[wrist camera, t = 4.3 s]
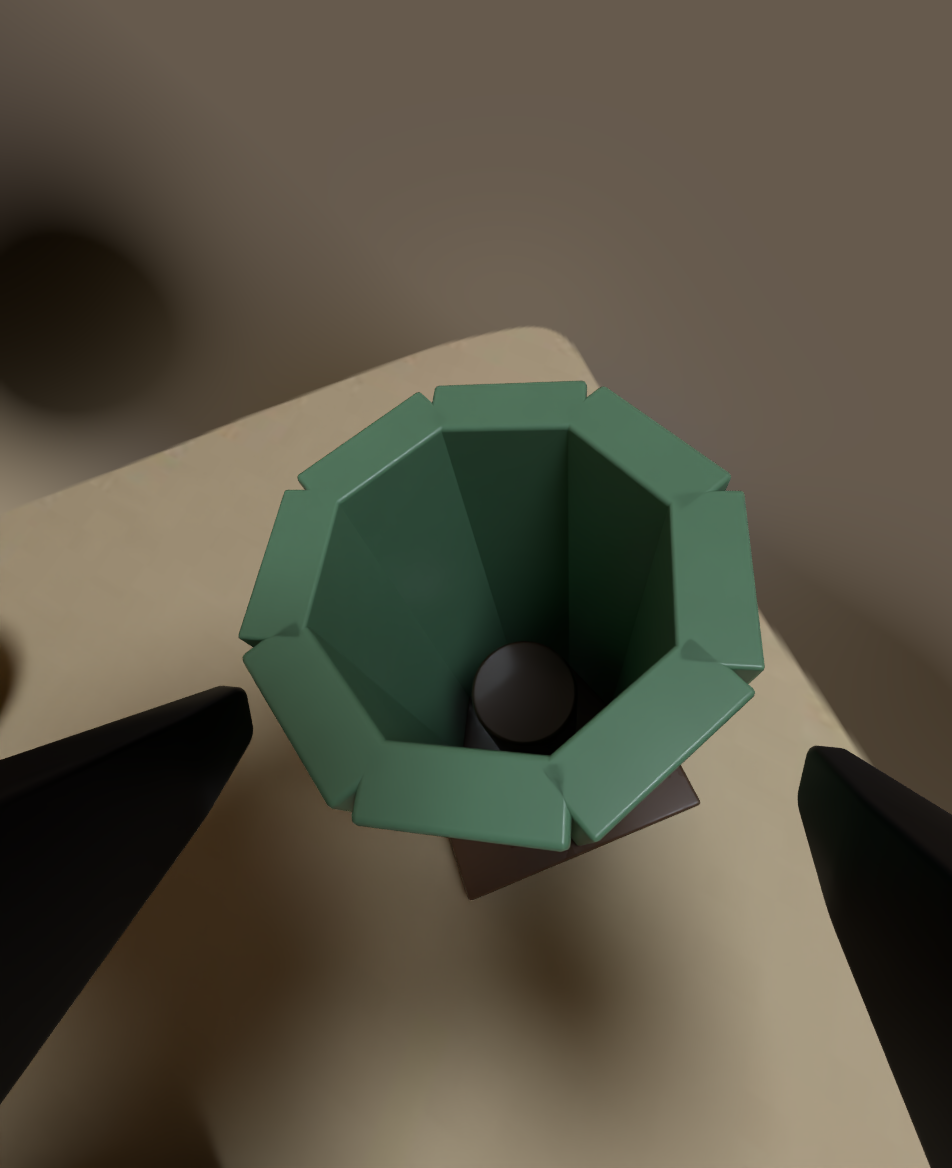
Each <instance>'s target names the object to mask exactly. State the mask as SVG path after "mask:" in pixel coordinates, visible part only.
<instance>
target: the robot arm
mask: <svg viewBox="0 0 952 1168" xmlns="http://www.w3.org/2000/svg"><path fill="white" fill-rule="evenodd" d="M252 735H253V725H252V719H251V714H250V709H249V703H248V698H247V694H246V692H245V691H244V690H243V689H242V688H239V687H230V686H218V687H215V688H212V689H209V690H206V691H203V692H200V693H197V694H194V695H191V696H188V697H185V698H182V699H179V700H176V701H173V702H170V703H168V704H165V705H162V706H159V707H156V708H153V709H150V710H147V711H144V712H141V713H138V714H135V715H132V716H129V717H126V718H123V719H120V720H117V721H114V722H111V723H108V724H105V725H103V726H100V727H97V728H94V729H91V730H88V731H85V732H82V733H79V734H76V735H73V736H70V737H67V738H64V739H61V740H58V741H55V742H52V743H49V744H46V745H43V746H40V747H38V748H35V749H32V750H29V751H26V752H23V753H20V754H17V755H14V756H11V757H8V758H5V759H2V760H0V1104H1V1103H2V1101H3V1100H4V1099H5V1097H6V1096H7V1094H8V1093H9V1092H10V1090H11V1089H12V1087H13V1086H14V1085H15V1083H16V1082H17V1080H18V1079H19V1078H20V1076H21V1075H22V1073H23V1072H24V1071H25V1069H26V1068H27V1067H28V1065H29V1064H30V1062H31V1061H32V1060H33V1058H34V1057H35V1055H36V1054H37V1053H38V1051H39V1050H40V1048H41V1047H42V1046H43V1044H44V1043H45V1041H46V1040H47V1039H48V1037H49V1036H50V1034H51V1033H52V1032H53V1030H54V1029H55V1027H56V1026H57V1025H58V1023H59V1022H60V1021H61V1019H62V1018H63V1016H64V1015H65V1014H66V1012H67V1011H68V1009H69V1008H70V1007H71V1005H72V1004H73V1002H74V1001H75V1000H76V998H77V997H78V995H79V994H80V993H81V991H82V990H83V988H84V987H85V986H86V984H87V983H88V982H89V980H90V979H91V977H92V976H93V975H94V973H95V972H96V970H97V969H98V968H99V966H100V965H101V963H102V962H103V961H104V959H105V958H106V956H107V955H108V954H109V952H110V951H111V949H112V948H113V947H114V945H115V944H116V942H117V941H118V940H119V938H120V937H121V936H122V934H123V933H124V931H125V930H126V929H127V927H128V926H129V924H130V923H131V922H132V920H133V919H134V917H135V916H136V915H137V913H138V912H139V910H140V909H141V908H142V906H143V905H144V903H145V902H146V901H147V899H148V898H149V896H150V895H151V894H152V892H153V891H154V890H155V888H156V887H157V885H158V884H159V883H160V881H161V880H162V878H163V877H164V876H165V874H166V873H167V871H168V870H169V869H170V867H171V866H172V864H173V863H174V862H175V860H176V859H177V857H178V856H179V855H180V853H181V852H182V851H183V849H184V848H185V846H186V845H187V844H188V842H189V841H190V839H191V838H192V837H193V835H194V834H195V832H196V831H197V830H198V828H199V827H200V825H201V824H202V822H203V821H204V819H205V818H206V816H207V815H208V813H209V811H210V810H211V808H212V806H213V805H214V803H215V801H216V800H217V798H218V796H219V795H220V793H221V791H222V790H223V788H224V786H225V784H226V783H227V781H228V779H229V778H230V776H231V774H232V772H233V771H234V769H235V767H236V766H237V764H238V762H239V761H240V759H241V757H242V755H243V754H244V752H245V750H246V749H247V747H248V745H249V743H250V741H251V738H252ZM798 807H799V812H800V815H801V819H802V822H803V826H804V829H805V833H806V836H807V840H808V843H809V847H810V851H811V854H812V858H813V861H814V865H815V868H816V872H817V875H818V879H819V882H820V886H821V889H822V893H823V897H824V900H825V903H826V906H827V909H828V913H829V916H830V918H831V921H832V924H833V926H834V929H835V932H836V934H837V937H838V939H839V942H840V944H841V947H842V949H843V952H844V954H845V957H846V959H847V962H848V964H849V967H850V969H851V972H852V974H853V977H854V979H855V982H856V984H857V986H858V989H859V991H860V994H861V996H862V999H863V1001H864V1004H865V1006H866V1009H867V1011H868V1014H869V1016H870V1019H871V1021H872V1024H873V1026H874V1029H875V1031H876V1034H877V1036H878V1038H879V1041H880V1043H881V1046H882V1048H883V1051H884V1053H885V1056H886V1058H887V1061H888V1063H889V1066H890V1068H891V1071H892V1073H893V1076H894V1078H895V1081H896V1083H897V1086H898V1088H899V1090H900V1093H901V1095H902V1098H903V1100H904V1103H905V1105H906V1108H907V1110H908V1113H909V1115H910V1118H911V1120H912V1123H913V1125H914V1128H915V1130H916V1133H917V1135H918V1138H919V1140H920V1142H921V1145H922V1147H923V1150H924V1152H925V1155H926V1157H927V1160H928V1162H929V1165H930V1167H931V1168H952V815H951V814H949V813H948V812H946V811H945V810H943V809H941V808H940V807H938V806H936V805H935V804H933V803H931V802H930V801H928V800H927V799H925V798H924V797H922V796H920V795H918V794H917V793H915V792H913V791H912V790H911V789H909V788H907V787H906V786H904V785H902V784H901V783H899V782H898V781H896V780H894V779H893V778H891V777H889V776H888V775H886V774H885V773H883V772H881V771H879V770H878V769H876V768H875V767H873V766H872V765H870V764H868V763H867V762H865V761H863V760H862V759H860V758H859V757H857V756H855V755H854V754H852V753H850V752H849V751H847V750H845V749H842V748H835V747H825V746H813V747H811V748H810V749H809V751H808V753H807V755H806V759H805V764H804V768H803V773H802V777H801V781H800V786H799V790H798Z"/></svg>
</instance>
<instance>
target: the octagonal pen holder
mask: <svg viewBox="0 0 952 1168" xmlns="http://www.w3.org/2000/svg"><path fill="white" fill-rule="evenodd" d="M730 479H731V475H730V474H729V473H728V472H727V471H725V470H724V469H723V468H721V467H720V466H718V465H717V464H715V463H714V462H712V461H711V460H709V459H708V458H707V457H705V456H704V455H703V454H701V453H700V452H698V451H697V450H695V449H694V448H693V447H691V446H690V445H688V444H687V443H685V442H684V441H682V440H681V439H679V438H678V437H677V436H675V435H674V434H672V433H671V432H670V431H668V430H667V429H665V428H664V427H662V426H661V425H660V424H658V423H657V422H655V421H653V420H652V419H651V418H650V417H648V416H647V415H645V414H644V413H642V412H641V411H640V410H638V409H637V408H635V407H634V406H632V405H631V404H629V403H628V402H627V401H625V400H624V399H622V398H621V397H619V396H618V395H616V394H615V393H614V392H612V391H611V390H609V389H608V388H607V387H604V386H603V387H600V388H599V389H597V390H596V391H595V392H593V393H592V394H591V395H589V396H588V397H587V385H586V383H585V382H584V381H561V382H533V383H505V384H477V385H449V386H438V387H436V388H435V391H434V396H433V401H432V403H431V402H430V401H429V400H428V399H427V398H426V397H425V396H424V395H422V394H421V393H420V392H418V393H415V394H414V395H413V396H411V397H410V398H408V399H407V400H405V401H404V402H402V403H401V404H400V405H398V406H397V407H395V408H394V409H392V410H391V411H390V412H388V413H387V414H385V415H384V416H382V417H381V418H379V419H378V420H377V421H375V422H374V423H372V424H371V425H369V426H368V427H367V428H365V429H364V430H362V431H361V432H359V433H358V434H357V435H355V436H354V437H352V438H351V439H349V440H348V441H346V442H345V443H344V444H342V445H341V446H339V447H338V448H336V449H335V450H334V451H332V452H331V453H329V454H328V455H326V456H325V457H323V458H322V459H321V460H319V461H318V462H316V463H315V464H313V465H312V466H311V467H309V468H308V469H306V470H305V471H303V472H302V473H300V474H299V475H298V481H299V483H300V484H301V485H302V487H303V488H304V489H305V490H286V491H285V492H284V495H283V498H282V501H281V504H280V508H279V511H278V514H277V517H276V520H275V523H274V526H273V529H272V532H271V536H270V539H269V542H268V545H267V548H266V551H265V554H264V557H263V561H262V564H261V567H260V570H259V573H258V576H257V579H256V582H255V585H254V589H253V592H252V595H251V598H250V601H249V604H248V607H247V610H246V614H245V617H244V620H243V623H242V626H241V629H240V632H239V639H241V640H243V641H244V642H246V643H247V644H249V645H250V646H252V647H253V648H252V649H251V650H249V651H248V652H247V653H245V655H244V656H243V662H244V664H245V666H246V668H247V669H248V671H249V673H250V674H251V676H252V678H253V679H254V681H255V683H256V685H257V686H258V688H259V690H260V691H261V693H262V695H263V696H264V698H265V700H266V702H267V703H268V705H269V707H270V708H271V710H272V712H273V714H274V715H275V717H276V719H277V720H278V722H279V724H280V725H281V727H282V729H283V731H284V732H285V734H286V736H287V737H288V739H289V741H290V742H291V744H292V746H293V748H294V749H295V751H296V753H297V754H298V756H299V758H300V759H301V761H302V763H303V765H304V766H305V768H306V770H307V771H308V773H309V775H310V776H311V778H312V780H313V782H314V783H315V785H316V787H317V788H318V790H319V792H320V794H321V795H322V797H323V799H324V800H325V802H326V804H327V805H328V806H329V807H331V808H332V809H337V810H343V811H349V812H352V822H353V823H354V824H356V825H357V826H363V827H371V828H379V829H387V830H394V831H402V832H410V833H418V834H425V835H433V836H441V837H449V838H457V839H464V840H472V841H480V842H488V843H495V844H503V845H511V846H519V847H527V848H534V849H542V850H550V851H558V852H562V851H565V850H568V849H569V848H570V844H571V838H572V839H573V841H574V842H575V843H576V844H577V845H578V846H581V845H586V844H590V843H594V842H598V841H600V840H601V839H602V838H603V837H604V836H605V835H606V834H607V833H608V832H609V831H611V830H612V829H613V828H614V827H615V826H616V825H617V824H618V823H619V822H620V821H621V820H622V819H623V818H624V817H625V816H627V815H628V814H629V813H630V812H631V811H632V810H633V809H634V808H635V807H636V806H637V805H638V804H639V803H640V802H641V801H643V800H644V799H645V798H646V797H647V796H648V795H649V794H650V793H651V792H652V791H653V790H654V789H655V788H656V787H657V786H659V785H660V784H661V783H662V782H663V781H664V780H665V779H666V778H667V777H668V776H669V775H670V774H671V773H672V772H673V771H675V770H676V769H677V768H678V767H679V766H680V765H681V764H682V763H683V762H684V761H685V760H686V759H687V758H688V757H690V756H691V755H692V754H693V753H694V752H695V751H696V750H697V749H698V748H699V747H700V746H701V745H702V744H703V743H704V742H706V741H707V740H708V739H709V738H710V737H711V736H712V735H713V734H714V733H715V732H716V731H717V730H718V729H719V728H720V727H722V726H723V725H724V724H725V723H726V722H727V721H728V720H729V719H730V718H731V717H732V716H733V715H734V714H735V713H736V712H738V711H739V710H740V709H741V708H742V707H743V706H744V705H745V704H746V703H747V702H748V701H749V700H750V699H751V698H752V697H753V696H754V694H755V691H754V690H753V688H752V687H751V686H749V685H748V684H749V683H750V682H751V681H752V680H753V679H755V678H756V677H757V676H758V675H759V674H760V673H761V672H762V671H763V670H764V667H765V666H764V657H763V649H762V640H761V632H760V623H759V615H758V606H757V598H756V590H755V581H754V572H753V564H752V556H751V548H750V539H749V531H748V522H747V513H746V505H745V496H744V493H743V492H742V491H725V490H726V488H727V486H728V483H729V481H730ZM518 641H531V642H537V643H541V644H544V645H546V646H548V647H550V648H552V649H554V650H555V651H557V652H558V653H559V654H560V655H561V656H562V657H563V658H564V659H565V660H566V661H567V662H568V664H569V665H570V666H571V667H572V668H573V670H574V671H575V672H576V673H577V674H578V675H579V676H580V677H581V678H582V679H583V680H584V681H585V682H586V683H587V684H588V685H589V686H590V687H591V688H592V690H593V691H594V692H595V693H596V694H597V695H598V696H599V697H600V698H601V699H602V700H603V701H604V702H605V703H606V704H607V706H606V707H605V708H603V709H602V710H601V711H600V712H599V713H598V714H597V715H595V716H594V717H593V718H592V719H591V720H590V721H589V722H588V723H586V724H585V725H584V726H583V727H582V728H581V729H580V730H578V731H577V732H576V733H575V734H574V735H573V736H572V737H571V738H569V739H568V740H567V741H566V742H565V743H564V744H563V745H561V746H560V747H559V748H558V749H557V750H556V751H555V752H554V753H552V754H551V755H541V754H530V753H520V752H509V751H499V750H488V749H478V748H467V747H463V744H464V736H465V727H466V719H467V711H468V702H469V697H470V696H471V691H472V683H473V679H474V676H475V674H476V671H477V669H478V668H479V666H480V664H481V663H482V662H483V660H484V659H485V658H486V657H487V656H488V655H489V654H490V653H492V652H493V651H494V650H496V649H497V648H499V647H501V646H503V645H506V644H509V643H513V642H518Z"/></svg>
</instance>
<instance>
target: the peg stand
mask: <svg viewBox="0 0 952 1168" xmlns="http://www.w3.org/2000/svg"><path fill="white" fill-rule="evenodd" d="M606 706H607V704H606V703H605V702H604V701H603V700H602V699H601V698H600V697H599V696H598V695H597V694H596V693H595V692H594V691H593V690H592V688H591V687H590V686H589V685H588V684H587V683H586V682H585V681H584V680H583V679H582V678H581V677H580V676H579V675H578V674H577V673H576V672H575V671H574V670H573V668H572V667H571V666H570V665H569V664H568V662H567V661H566V660H565V659H564V658H563V657H562V656H561V655H560V654H559V653H558V652H557V651H555V650H554V649H552V648H550V647H548V646H546V645H544V644H541V643H537V642H531V641H518V642H513V643H509V644H506V645H503V646H501V647H499V648H497V649H496V650H494V651H493V652H492V653H490V654H489V655H488V656H487V657H486V658H485V659H484V660H483V662H482V663H481V664H480V666H479V668H478V669H477V671H476V674H475V676H474V679H473V683H472V691H471V696H470V697H469V702H468V711H467V719H466V727H465V736H464V744H463V747H467V748H478V749H488V750H499V751H509V752H520V753H530V754H541V755H551V754H552V753H554V752H555V751H556V750H557V749H558V748H559V747H560V746H561V745H563V744H564V743H565V742H566V741H567V740H568V739H569V738H571V737H572V736H573V735H574V734H575V733H576V732H577V731H578V730H580V729H581V728H582V727H583V726H584V725H585V724H586V723H588V722H589V721H590V720H591V719H592V718H593V717H594V716H595V715H597V714H598V713H599V712H600V711H601V710H602V709H603V708H605V707H606ZM699 804H700V800H699V798H698V796H697V794H696V793H695V791H694V789H693V787H692V785H691V783H690V781H689V780H688V778H687V776H686V774H685V772H684V770H683V768H682V766H681V765H680V766H679V767H678V768H677V769H676V770H675V771H673V772H672V773H671V774H670V775H669V776H668V777H667V778H666V779H665V780H664V781H663V782H662V783H661V784H660V785H659V786H657V787H656V788H655V789H654V790H653V791H652V792H651V793H650V794H649V795H648V796H647V797H646V798H645V799H644V800H643V801H641V802H640V803H639V804H638V805H637V806H636V807H635V808H634V809H633V810H632V811H631V812H630V813H629V814H628V815H627V816H625V817H624V818H623V819H622V820H621V821H620V822H619V823H618V824H617V825H616V826H615V827H614V828H613V829H612V830H611V831H609V832H608V833H607V834H606V835H605V836H604V837H603V838H602V839H601V840H600V841H598V842H594V843H590V844H586V845H581V846H578V845H577V844H576V843H575V842H574V841H573V839H572V838H571V844H570V848H569V849H568V850H565V851H562V852H558V851H550V850H542V849H534V848H527V847H519V846H511V845H503V844H495V843H488V842H480V841H472V840H464V839H457V838H450V841H451V844H452V847H453V850H454V854H455V857H456V860H457V863H458V866H459V870H460V873H461V876H462V879H463V883H464V886H465V889H466V892H467V896H468V898H469V900H475V899H477V898H479V897H482V896H484V895H487V894H489V893H491V892H494V891H496V890H498V889H501V888H503V887H506V886H508V885H510V884H513V883H515V882H517V881H520V880H522V879H525V878H527V877H529V876H532V875H534V874H536V873H539V872H541V871H544V870H546V869H548V868H551V867H553V866H555V865H558V864H560V863H563V862H565V861H567V860H570V859H572V858H574V857H577V856H579V855H582V854H584V853H586V852H589V851H591V850H593V849H596V848H598V847H601V846H603V845H605V844H608V843H610V842H612V841H615V840H617V839H619V838H622V837H624V836H627V835H629V834H631V833H634V832H636V831H638V830H641V829H643V828H646V827H648V826H650V825H653V824H655V823H657V822H660V821H662V820H665V819H667V818H669V817H672V816H674V815H676V814H679V813H681V812H684V811H686V810H688V809H691V808H693V807H695V806H698V805H699Z"/></svg>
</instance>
